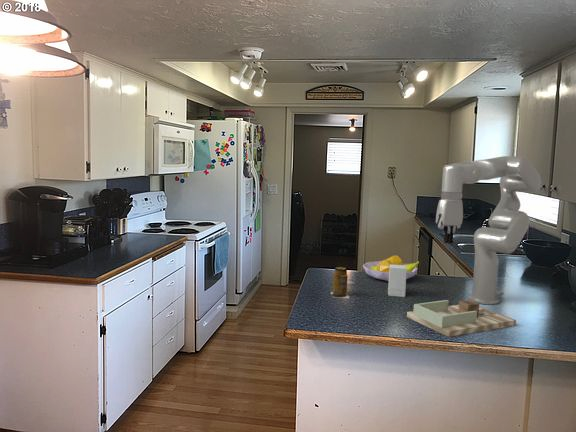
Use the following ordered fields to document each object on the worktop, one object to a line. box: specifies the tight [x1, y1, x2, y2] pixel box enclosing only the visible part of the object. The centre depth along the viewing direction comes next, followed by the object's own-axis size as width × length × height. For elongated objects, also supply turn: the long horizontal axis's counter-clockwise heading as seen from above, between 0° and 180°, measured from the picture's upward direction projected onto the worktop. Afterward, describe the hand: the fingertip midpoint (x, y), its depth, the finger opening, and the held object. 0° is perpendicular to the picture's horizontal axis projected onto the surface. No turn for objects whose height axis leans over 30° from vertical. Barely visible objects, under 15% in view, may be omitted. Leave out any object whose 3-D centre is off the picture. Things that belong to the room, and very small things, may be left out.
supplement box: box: [387, 265, 407, 298], centre depth 215 cm, size 7×7×13 cm
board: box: [406, 304, 517, 338], centre depth 181 cm, size 32×22×2 cm
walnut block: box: [458, 299, 480, 317], centre depth 182 cm, size 5×5×5 cm
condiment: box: [330, 266, 350, 299], centre depth 210 cm, size 7×8×12 cm
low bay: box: [412, 299, 477, 328], centre depth 177 cm, size 16×15×4 cm
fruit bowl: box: [362, 254, 420, 282], centre depth 243 cm, size 28×27×11 cm
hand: (448, 243), depth 191 cm, fingers closed
